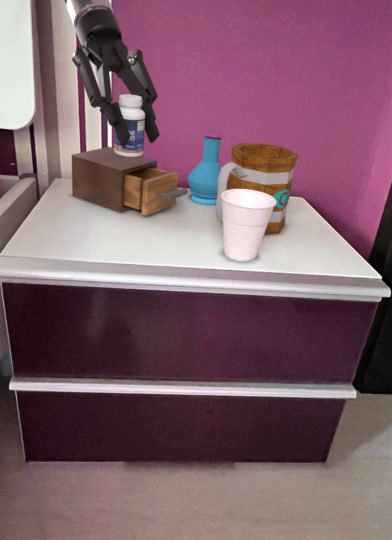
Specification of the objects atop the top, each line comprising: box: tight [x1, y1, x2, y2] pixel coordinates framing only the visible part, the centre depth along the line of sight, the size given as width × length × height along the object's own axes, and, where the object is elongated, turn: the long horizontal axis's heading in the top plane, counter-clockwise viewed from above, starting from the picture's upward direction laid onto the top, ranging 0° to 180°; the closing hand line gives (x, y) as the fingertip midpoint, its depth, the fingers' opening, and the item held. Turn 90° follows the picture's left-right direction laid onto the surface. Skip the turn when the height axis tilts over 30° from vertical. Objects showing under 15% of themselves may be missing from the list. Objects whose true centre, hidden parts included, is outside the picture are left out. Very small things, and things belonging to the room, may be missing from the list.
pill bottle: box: [113, 93, 146, 157], centre depth 101 cm, size 5×5×10 cm
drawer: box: [123, 167, 189, 217], centre depth 118 cm, size 17×11×7 cm, turn 56°
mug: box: [215, 142, 299, 236], centre depth 114 cm, size 20×14×15 cm
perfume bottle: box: [187, 129, 229, 205], centre depth 126 cm, size 9×9×15 cm
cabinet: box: [71, 146, 158, 213], centre depth 122 cm, size 14×12×9 cm
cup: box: [221, 189, 276, 262], centre depth 102 cm, size 10×10×11 cm
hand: (140, 139), depth 99 cm, fingers closed on pill bottle, 5 cm apart
